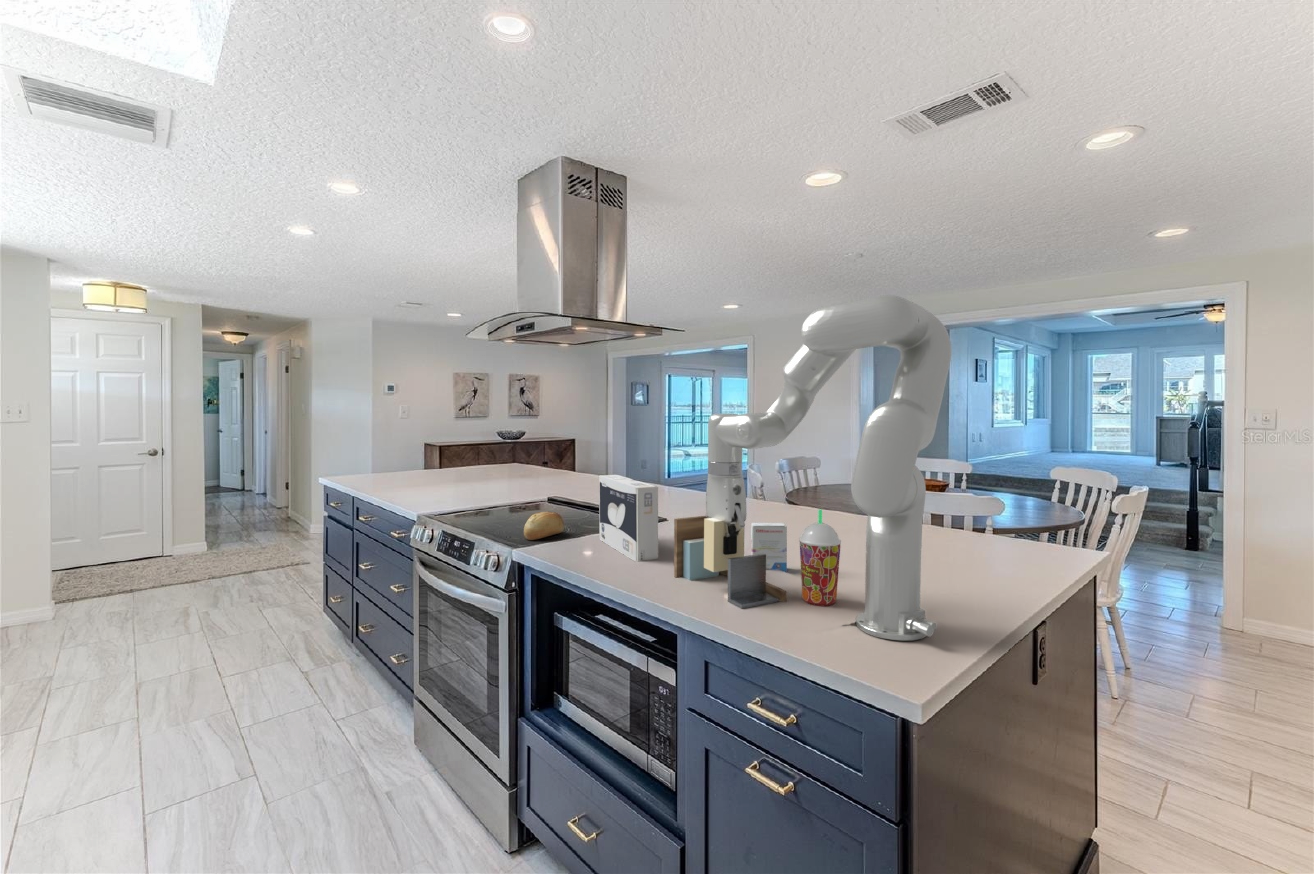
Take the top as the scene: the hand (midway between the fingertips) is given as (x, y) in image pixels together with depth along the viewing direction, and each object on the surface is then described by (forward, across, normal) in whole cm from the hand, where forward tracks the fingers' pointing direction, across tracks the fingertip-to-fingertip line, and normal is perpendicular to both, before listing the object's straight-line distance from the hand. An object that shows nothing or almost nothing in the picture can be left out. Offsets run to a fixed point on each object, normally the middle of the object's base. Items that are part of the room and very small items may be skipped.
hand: (724, 550), depth 132 cm
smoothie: (+9, -17, -13) cm, 23 cm away
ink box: (+9, +9, -20) cm, 24 cm away
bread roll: (+10, +72, +20) cm, 76 cm away
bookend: (+8, -11, 0) cm, 14 cm away
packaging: (+10, +45, +3) cm, 46 cm away
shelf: (+9, 0, -1) cm, 9 cm away
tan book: (+4, 0, 0) cm, 4 cm away
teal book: (+9, +10, 0) cm, 13 cm away
